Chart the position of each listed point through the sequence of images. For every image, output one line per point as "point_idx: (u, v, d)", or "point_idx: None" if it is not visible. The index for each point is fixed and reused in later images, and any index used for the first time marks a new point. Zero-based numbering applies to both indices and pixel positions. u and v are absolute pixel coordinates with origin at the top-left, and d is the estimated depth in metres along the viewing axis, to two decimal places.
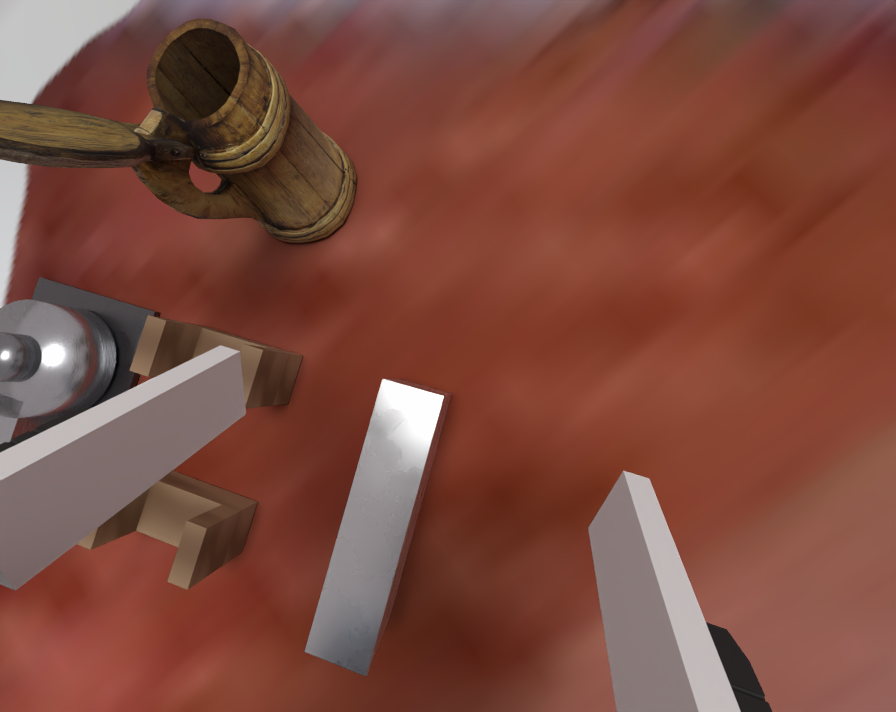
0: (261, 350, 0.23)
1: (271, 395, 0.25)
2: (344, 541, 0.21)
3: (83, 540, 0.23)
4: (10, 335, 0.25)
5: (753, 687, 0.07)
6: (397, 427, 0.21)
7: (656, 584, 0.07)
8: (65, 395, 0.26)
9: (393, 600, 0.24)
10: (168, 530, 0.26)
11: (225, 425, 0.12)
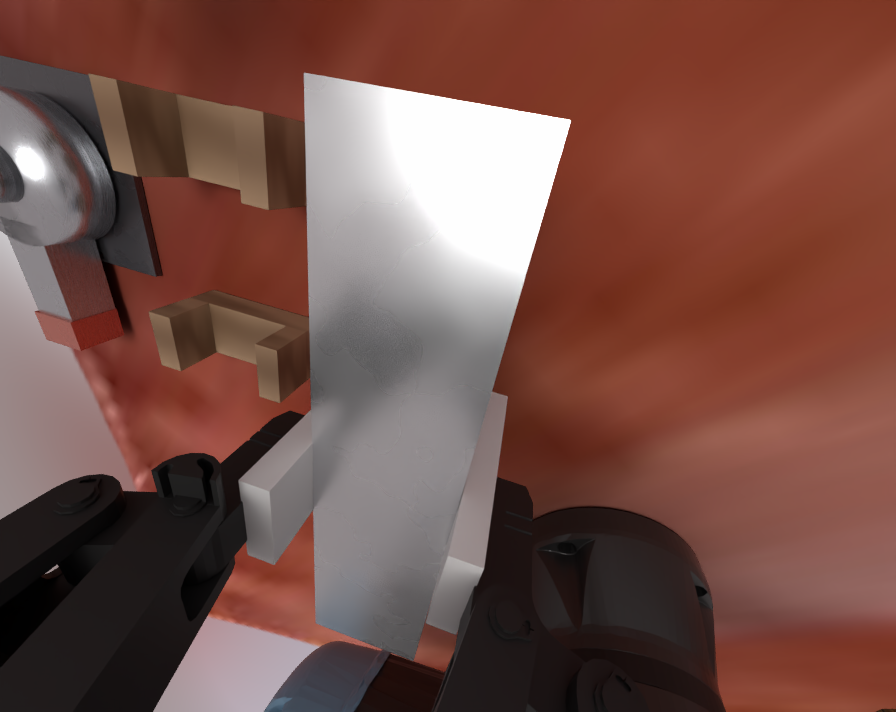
0: (261, 113, 0.15)
1: (299, 191, 0.19)
2: (329, 514, 0.10)
3: (170, 363, 0.23)
4: None
5: (530, 517, 0.09)
6: (397, 268, 0.06)
7: None
8: (72, 214, 0.22)
9: None
10: (245, 351, 0.25)
11: None
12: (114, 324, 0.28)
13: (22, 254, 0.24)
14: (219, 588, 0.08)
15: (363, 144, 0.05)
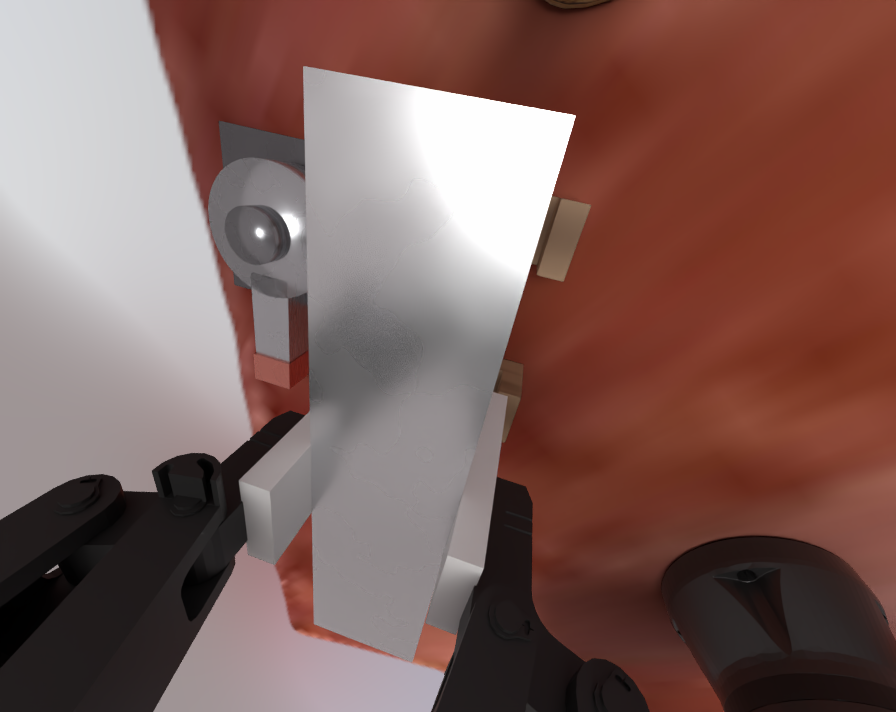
0: (587, 205, 0.17)
1: None
2: (327, 515, 0.10)
3: None
4: (257, 208, 0.21)
5: (530, 517, 0.09)
6: (397, 266, 0.06)
7: None
8: None
9: None
10: None
11: None
12: (308, 362, 0.30)
13: (260, 304, 0.26)
14: (219, 588, 0.08)
15: (364, 140, 0.05)
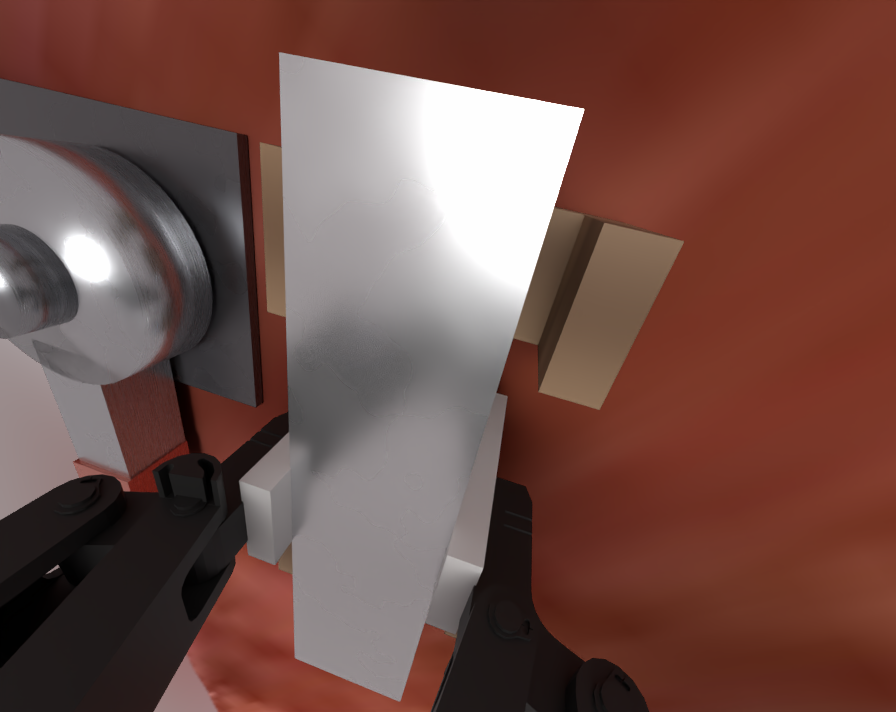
0: (674, 242, 0.07)
1: None
2: (309, 543, 0.09)
3: None
4: None
5: (530, 517, 0.09)
6: (384, 276, 0.05)
7: None
8: (153, 344, 0.13)
9: None
10: None
11: None
12: None
13: (62, 390, 0.15)
14: (220, 588, 0.08)
15: (346, 135, 0.05)
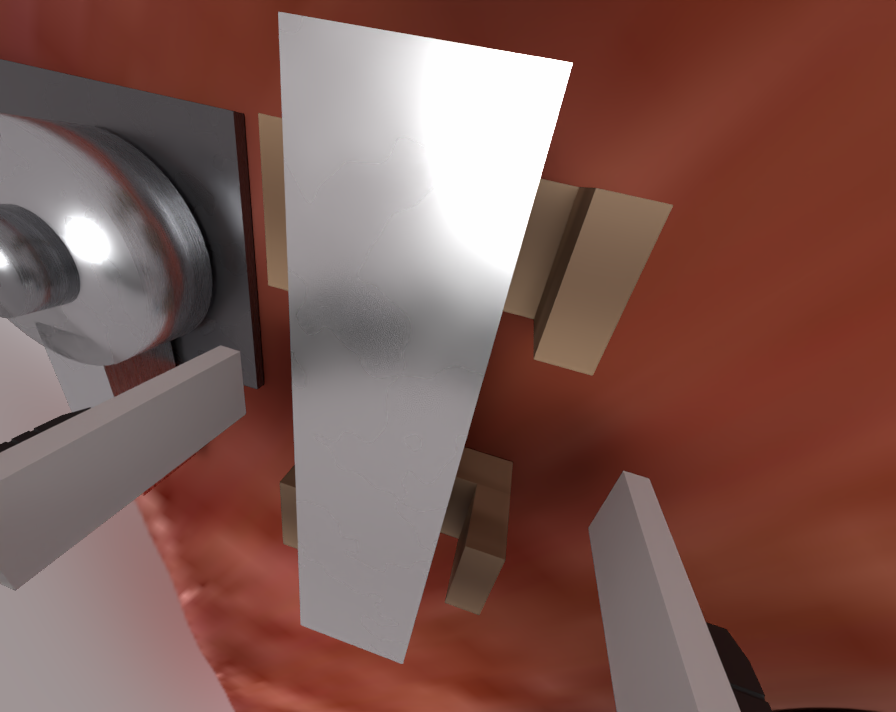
0: (663, 206, 0.07)
1: None
2: (313, 509, 0.09)
3: None
4: None
5: (753, 687, 0.07)
6: (382, 236, 0.06)
7: (656, 584, 0.07)
8: (155, 324, 0.13)
9: None
10: None
11: (225, 425, 0.12)
12: None
13: (66, 372, 0.15)
14: None
15: (344, 94, 0.05)
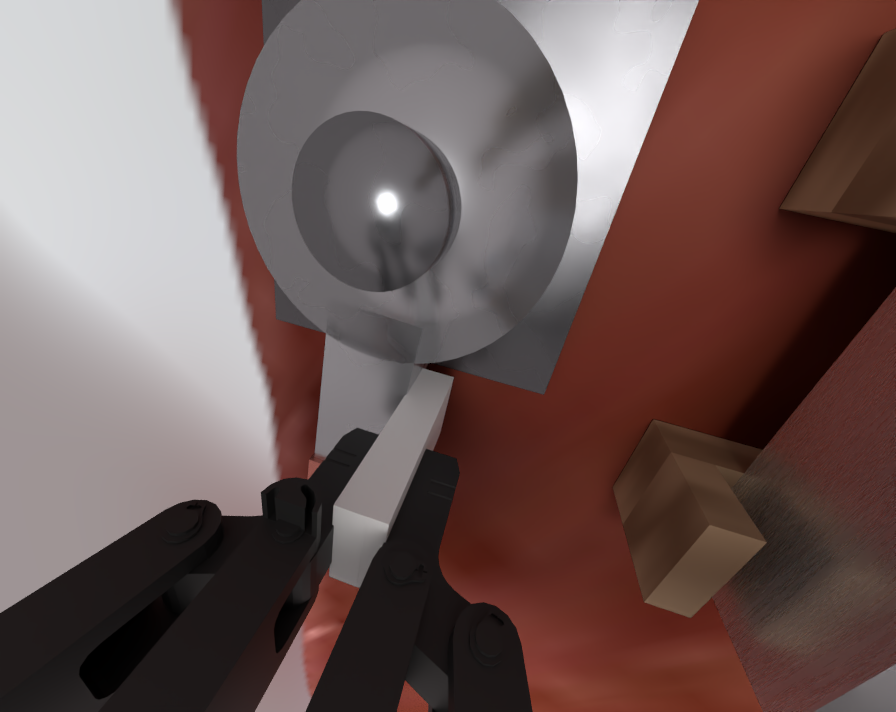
0: None
1: None
2: None
3: (672, 603, 0.11)
4: (406, 126, 0.07)
5: (455, 486, 0.09)
6: None
7: None
8: None
9: None
10: None
11: None
12: None
13: (342, 369, 0.11)
14: (304, 617, 0.07)
15: None
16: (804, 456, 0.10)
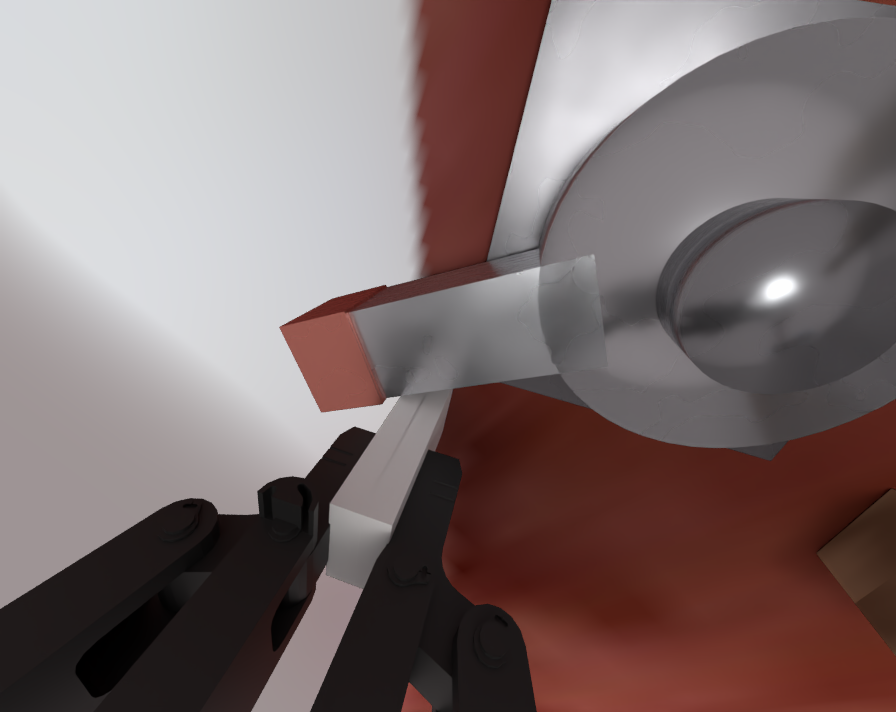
0: None
1: None
2: None
3: None
4: None
5: (458, 487, 0.09)
6: None
7: None
8: None
9: None
10: None
11: None
12: None
13: (501, 303, 0.09)
14: (300, 616, 0.07)
15: None
16: None
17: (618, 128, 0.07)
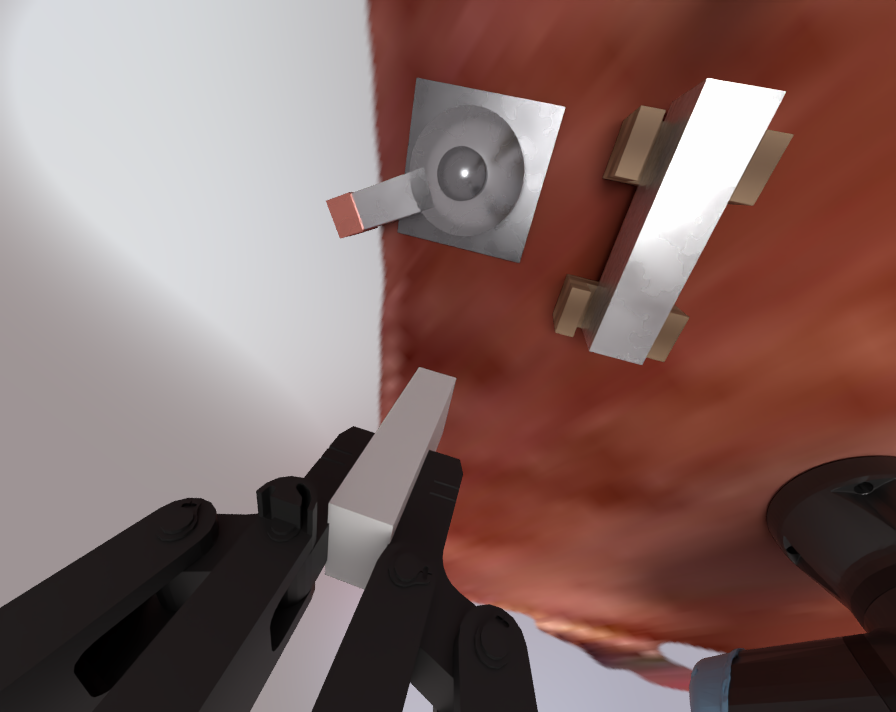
0: (790, 135, 0.21)
1: None
2: (634, 264, 0.23)
3: (565, 330, 0.29)
4: (485, 173, 0.25)
5: (459, 487, 0.09)
6: (715, 139, 0.20)
7: None
8: None
9: None
10: None
11: None
12: None
13: (399, 185, 0.28)
14: (300, 615, 0.08)
15: (719, 98, 0.19)
16: (608, 266, 0.28)
17: (423, 130, 0.26)
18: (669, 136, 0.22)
